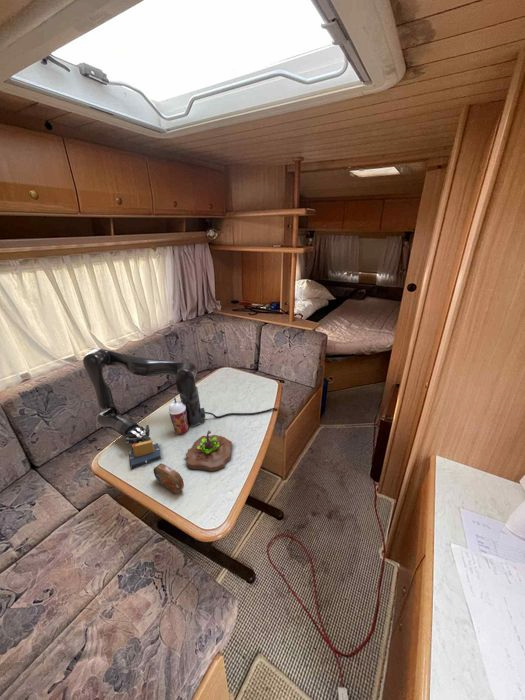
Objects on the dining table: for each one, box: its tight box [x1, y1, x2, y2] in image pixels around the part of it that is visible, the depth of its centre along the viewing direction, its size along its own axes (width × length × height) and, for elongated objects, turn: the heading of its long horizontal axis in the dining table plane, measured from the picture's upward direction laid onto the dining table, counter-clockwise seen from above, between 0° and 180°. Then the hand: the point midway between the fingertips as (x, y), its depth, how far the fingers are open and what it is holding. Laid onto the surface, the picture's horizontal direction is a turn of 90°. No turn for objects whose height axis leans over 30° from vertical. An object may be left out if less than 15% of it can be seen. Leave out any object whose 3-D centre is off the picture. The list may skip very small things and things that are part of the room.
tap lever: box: [131, 439, 154, 457], centre depth 121 cm, size 8×2×6 cm, turn 110°
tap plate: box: [129, 442, 162, 470], centre depth 123 cm, size 12×12×2 cm
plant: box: [185, 430, 233, 472], centre depth 122 cm, size 20×20×11 cm
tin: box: [153, 463, 185, 494], centre depth 108 cm, size 15×3×8 cm, turn 58°
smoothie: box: [167, 397, 189, 435], centre depth 135 cm, size 8×8×20 cm
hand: (149, 441), depth 123 cm, fingers closed
